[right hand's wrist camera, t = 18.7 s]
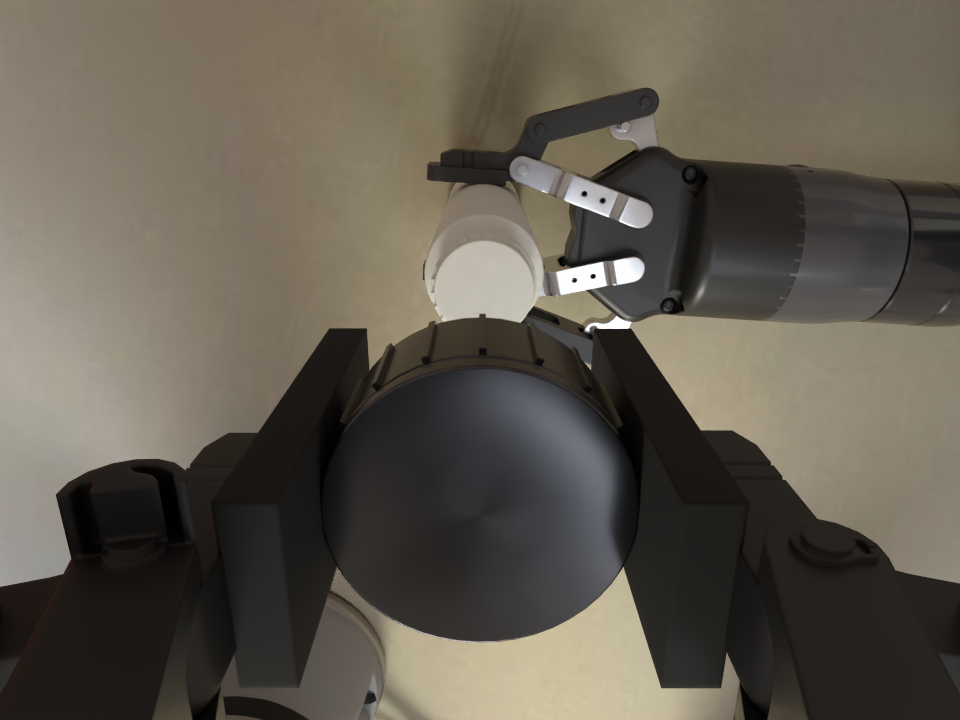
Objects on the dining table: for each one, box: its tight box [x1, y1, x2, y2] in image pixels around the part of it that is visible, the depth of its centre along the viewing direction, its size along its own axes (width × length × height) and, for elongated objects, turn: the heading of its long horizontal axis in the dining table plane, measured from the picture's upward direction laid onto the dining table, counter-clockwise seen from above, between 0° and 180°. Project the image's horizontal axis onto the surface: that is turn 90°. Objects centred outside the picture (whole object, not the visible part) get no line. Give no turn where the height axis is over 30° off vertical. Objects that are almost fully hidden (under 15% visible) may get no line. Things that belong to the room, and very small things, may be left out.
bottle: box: [424, 181, 544, 323], centre depth 31 cm, size 4×4×19 cm
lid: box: [320, 314, 640, 643], centre depth 11 cm, size 5×5×2 cm
